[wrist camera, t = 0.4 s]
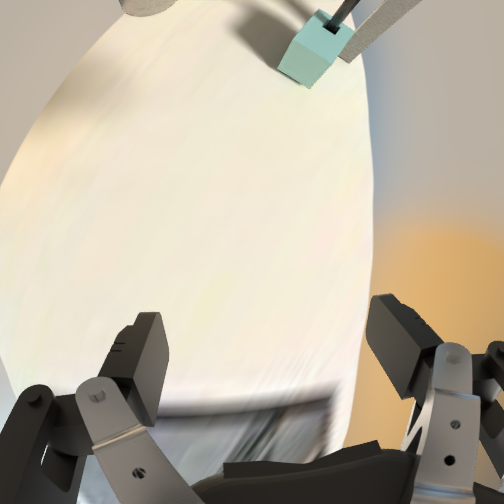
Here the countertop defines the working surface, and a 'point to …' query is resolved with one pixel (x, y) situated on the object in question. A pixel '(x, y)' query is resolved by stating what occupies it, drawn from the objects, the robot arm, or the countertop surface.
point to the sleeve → (314, 49)
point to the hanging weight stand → (368, 24)
